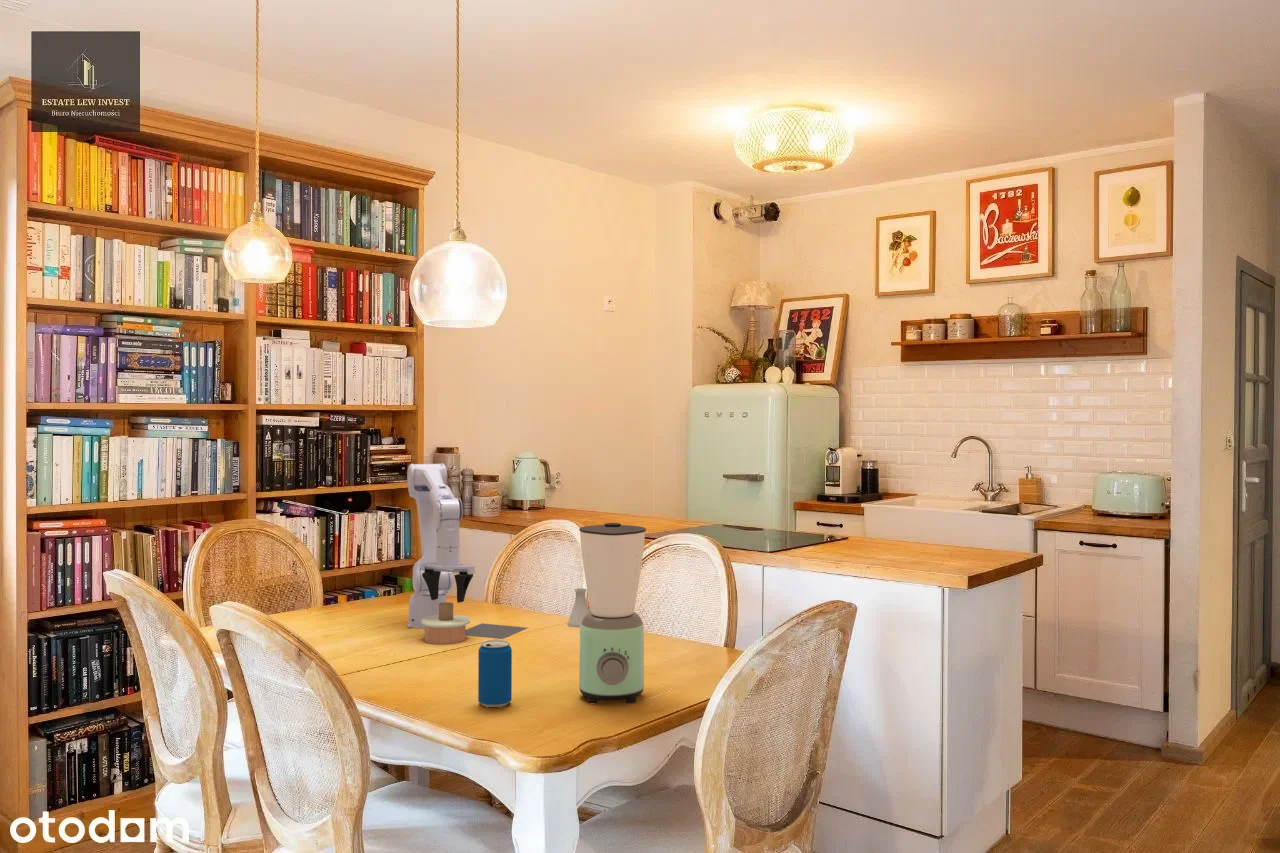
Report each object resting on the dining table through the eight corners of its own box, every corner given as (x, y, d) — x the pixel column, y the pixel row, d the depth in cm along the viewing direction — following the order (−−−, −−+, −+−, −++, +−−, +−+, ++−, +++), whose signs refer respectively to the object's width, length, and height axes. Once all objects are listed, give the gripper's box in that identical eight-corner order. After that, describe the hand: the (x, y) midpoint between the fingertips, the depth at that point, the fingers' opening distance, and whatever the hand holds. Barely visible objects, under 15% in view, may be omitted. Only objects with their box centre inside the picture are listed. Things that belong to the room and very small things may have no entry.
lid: (411, 625, 246) (411, 605, 246) (439, 616, 257) (439, 597, 257) (452, 629, 242) (452, 609, 241) (479, 620, 253) (479, 601, 252)
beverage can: (479, 699, 198) (479, 639, 198) (512, 699, 199) (512, 639, 199) (476, 709, 192) (477, 647, 192) (510, 708, 192) (511, 646, 192)
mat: (454, 635, 255) (454, 634, 255) (481, 624, 268) (481, 623, 268) (502, 640, 250) (502, 638, 250) (528, 629, 263) (528, 627, 263)
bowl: (416, 643, 246) (416, 625, 246) (438, 635, 255) (438, 617, 255) (451, 647, 243) (452, 628, 243) (472, 638, 252) (473, 620, 252)
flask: (595, 623, 271) (595, 587, 271) (591, 629, 264) (592, 591, 264) (569, 622, 272) (569, 586, 271) (564, 628, 264) (565, 591, 264)
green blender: (648, 708, 193) (649, 528, 193) (578, 709, 192) (580, 528, 192) (640, 682, 212) (641, 518, 212) (577, 683, 211) (578, 518, 211)
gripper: (414, 547, 249) (413, 601, 249) (464, 550, 244) (464, 605, 244) (429, 543, 255) (429, 596, 256) (479, 546, 250) (478, 600, 250)
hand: (447, 600), depth 250 cm, fingers open, 7 cm apart
